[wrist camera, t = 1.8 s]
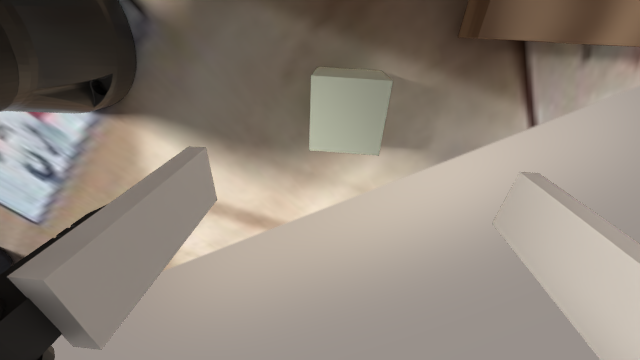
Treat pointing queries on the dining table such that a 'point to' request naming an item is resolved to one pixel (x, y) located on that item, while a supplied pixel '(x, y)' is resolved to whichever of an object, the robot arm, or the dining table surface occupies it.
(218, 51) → the dining table surface
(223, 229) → the dining table surface
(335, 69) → the pale green cube
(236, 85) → the dining table surface
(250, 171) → the dining table surface
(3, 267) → the beverage can
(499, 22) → the walnut block
